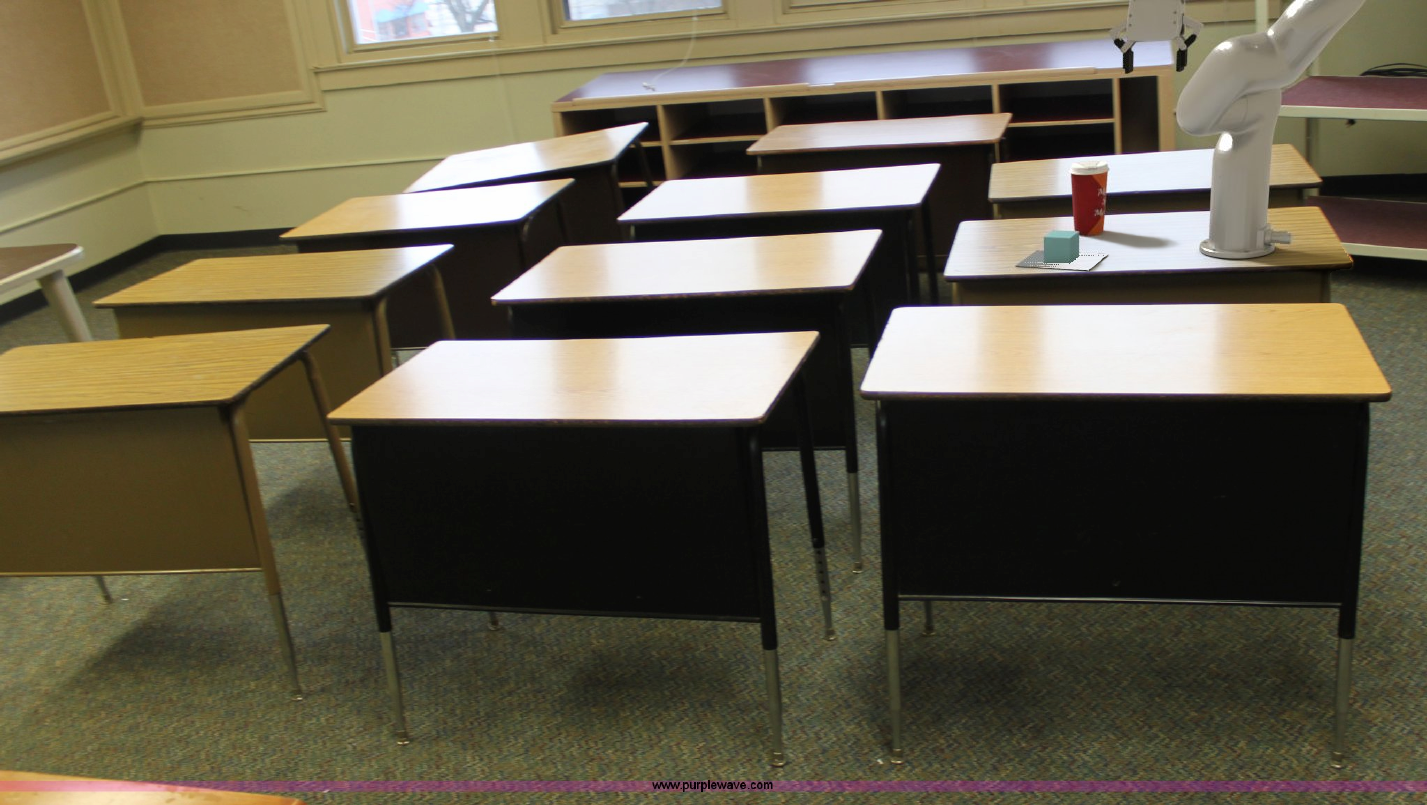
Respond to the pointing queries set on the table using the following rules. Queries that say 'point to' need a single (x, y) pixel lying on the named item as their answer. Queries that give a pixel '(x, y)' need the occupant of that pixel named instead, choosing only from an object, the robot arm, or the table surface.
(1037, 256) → the slate mat
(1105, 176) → the paper cup
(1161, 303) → the table surface
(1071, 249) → the teal block
